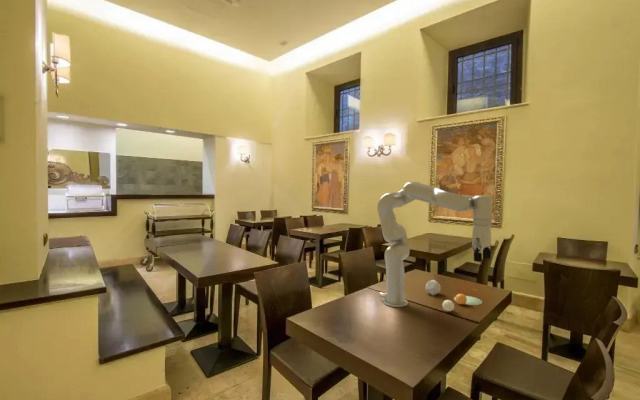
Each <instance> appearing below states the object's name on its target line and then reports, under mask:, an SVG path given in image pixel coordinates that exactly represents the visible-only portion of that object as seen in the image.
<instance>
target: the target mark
mask: <svg viewBox="0 0 640 400" xmlns="http://www.w3.org/2000/svg"><path fill="white" fill-rule="evenodd" d="M465 296H466V298H467V302H466V303H465V304H464V305H465V306H466V305H467V306H479V305H482V304H483V301H482V300H481V299H479V298H478V297H474V296H470V295H465ZM455 298H456V296H454V297H453V300H454V301H455V302H456V299H455Z"/></svg>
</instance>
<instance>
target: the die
mask: <svg viewBox="0 0 640 400" xmlns="http://www.w3.org/2000/svg"><path fill="white" fill-rule="evenodd" d="M441 287H442V285H441V284H440V283H439V282H437V281H436V280H435V279H431V280H428V281H427V282H426V284H425V288H424V289H425V291H426V292H427V293H428V294H430V295H431V296H435V295H438V294H439V293H440V292H441Z"/></svg>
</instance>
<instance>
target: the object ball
mask: <svg viewBox="0 0 640 400" xmlns="http://www.w3.org/2000/svg"><path fill="white" fill-rule="evenodd" d="M466 296H467V295H465V294H463V293H457V294H456V295H455V297H456V298H455V299H456V301H455V302H456V303H457V304H458V305H466V304H465V303H466V302H467V298H466Z"/></svg>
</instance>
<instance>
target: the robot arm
mask: <svg viewBox="0 0 640 400" xmlns="http://www.w3.org/2000/svg"><path fill="white" fill-rule="evenodd" d="M413 201H421V202H425V203H428V204H432V205H434V206H438V207H442V208H445V209H448V210H452V211H456V212H460V213H461V212H466V211H472V225H473V227H472V235H471V246H472V249H473V261H474V262H477V263H482V262H483V261H482V260H483V259H482V258H484V259H491V256H492V255H491V246H492V232H491V227H492V226H493V225H492V224H493V222H492V221H493V217H492V215H493V214H492V213H493V209H492V207H493V204H492V203H493V199H492V196H490V195H487V194H485V195H483V194H482V195H480V194H479V195H470V194H469V195H468V194H458V193H453V192H450V191H445V190H442V189H441V188H439V187H437V186H433V185H429V184H424V183H421V182H418V181H408V182H406V183H405V184H404V185H403V187H402V189H401V190H398V191H390V192H386V193H385V194H382V196H381V197H380V198H379V200H378V202H377V207H376V208H377V212H378V218H379V222H380V223H379V224H380V228H381V233H382V236H383V239H384V241H385V242H387V243H390V244H391V245H389V246H388V247H387V248H386V249H385V251H384V261H385V276H386V281H385V284H386V288H385V290H386V293H385V292H379V297H380V298H383V304H385V305H386V306H388V307H393V308H403V307H407V306H408V300H407V299H405V267H404V260H406V259H407V258H409V256H410V253H411V252H410V245H409V241H408V236H407V231H406V229H405V227H404V226H403V225H402V224H399V223H398V222H397V218H396V215H395V214H396V213H394V210H393V209H395V208H401V207H404V206H405V205H407V204H409V203H412V202H413Z"/></svg>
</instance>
